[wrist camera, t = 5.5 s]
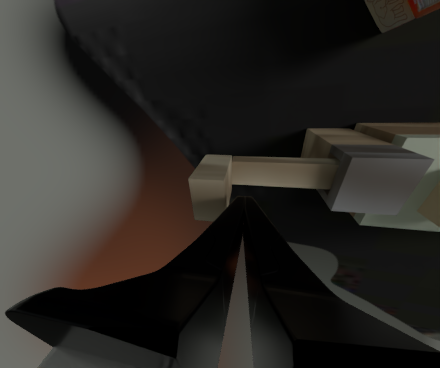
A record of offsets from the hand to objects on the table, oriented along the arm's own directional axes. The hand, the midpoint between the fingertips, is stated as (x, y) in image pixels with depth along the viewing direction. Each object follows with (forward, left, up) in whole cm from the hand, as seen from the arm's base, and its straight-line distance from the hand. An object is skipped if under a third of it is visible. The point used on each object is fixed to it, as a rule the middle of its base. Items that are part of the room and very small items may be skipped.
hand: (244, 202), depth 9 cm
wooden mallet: (0, -2, -5) cm, 5 cm away
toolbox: (-2, -13, -11) cm, 18 cm away
